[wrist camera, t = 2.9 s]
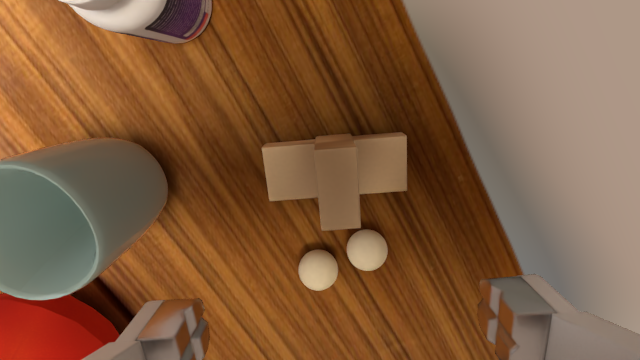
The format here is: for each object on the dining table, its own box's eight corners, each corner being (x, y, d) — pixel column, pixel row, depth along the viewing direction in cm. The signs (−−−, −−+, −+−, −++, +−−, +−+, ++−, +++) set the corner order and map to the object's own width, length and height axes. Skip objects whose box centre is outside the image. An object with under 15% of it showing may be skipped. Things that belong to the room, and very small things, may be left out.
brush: (399, 123, 24) (426, 140, 18) (399, 186, 26) (425, 223, 19) (266, 134, 25) (245, 155, 18) (274, 196, 26) (258, 236, 20)
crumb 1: (335, 241, 27) (337, 261, 24) (338, 273, 28) (340, 297, 25) (298, 243, 28) (294, 264, 24) (302, 276, 29) (299, 300, 25)
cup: (200, 200, 26) (131, 270, 17) (121, 236, 27) (14, 321, 18) (146, 111, 24) (31, 134, 15) (62, 154, 25) (-95, 201, 16)
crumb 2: (383, 221, 27) (390, 239, 24) (384, 255, 28) (391, 277, 25) (344, 224, 27) (346, 243, 24) (346, 258, 28) (349, 280, 25)
